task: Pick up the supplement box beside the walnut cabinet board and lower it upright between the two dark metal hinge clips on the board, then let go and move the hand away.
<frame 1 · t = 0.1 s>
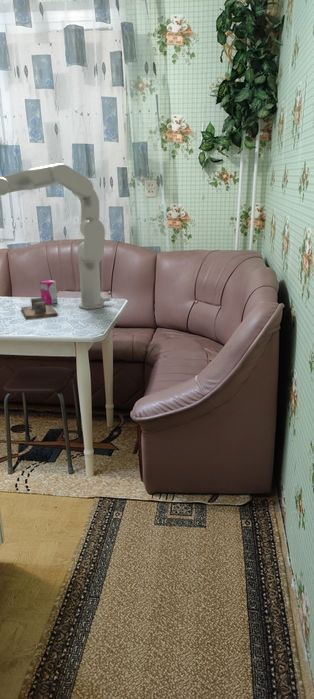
supplement box: (49, 304, 258), on the table
hinge board: (39, 313, 240), on the table
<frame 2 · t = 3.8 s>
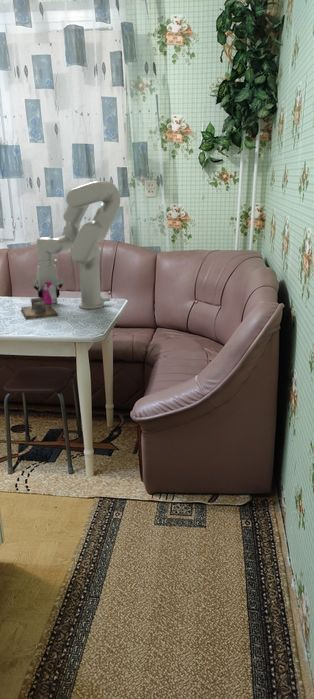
hand: (49, 297, 257), 3 cm above the table, tool pointing down, fingers closed on supplement box, 7 cm apart
supplement box: (49, 304, 258), on the table, touching gripper
when the fingers open (6 cm above the table, at t = 10.7 s): supplement box drops 1 cm, resting on hinge board.
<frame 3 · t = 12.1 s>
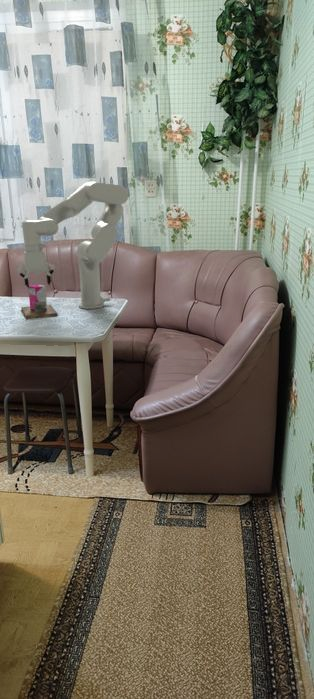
hand: (38, 285, 236), 13 cm above the table, tool pointing down, fingers open, 9 cm apart
supplement box: (38, 310, 240), point 1 cm above the table, touching hinge board
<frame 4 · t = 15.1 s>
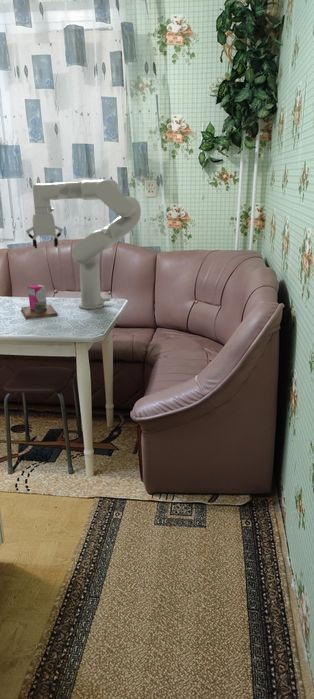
hand: (45, 247, 247), 28 cm above the table, tool pointing down, fingers open, 9 cm apart
nothing on the table moved.
at the end: supplement box 0.1 cm off-centre on the hinge board, point 1.3 cm above the hinge board's base; supplement box tilted 0°; the gripper is holding nothing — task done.
